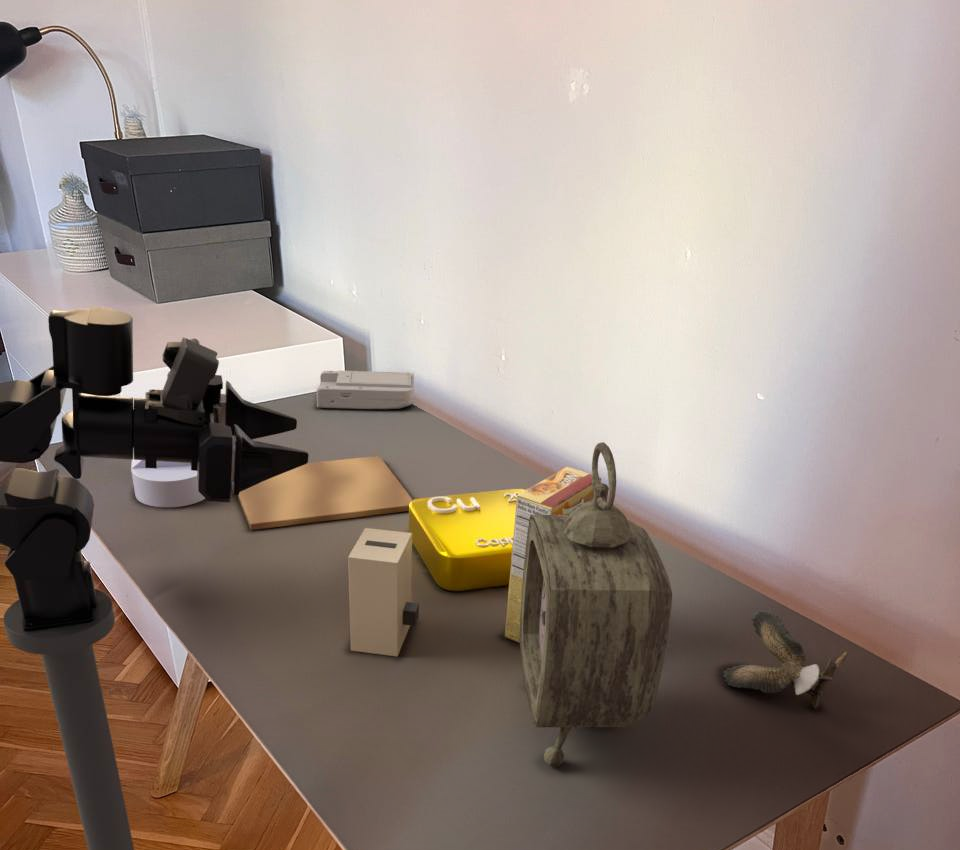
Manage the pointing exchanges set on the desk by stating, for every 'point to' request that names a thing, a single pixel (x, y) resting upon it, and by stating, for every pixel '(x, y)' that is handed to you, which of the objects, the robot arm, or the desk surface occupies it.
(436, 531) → the element tile
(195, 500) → the wedge on round base
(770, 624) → the eagle figurine
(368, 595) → the toaster
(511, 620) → the candy box
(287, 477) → the cork mat
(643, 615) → the tabletop clock
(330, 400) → the handheld gaming device
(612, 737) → the desk surface
